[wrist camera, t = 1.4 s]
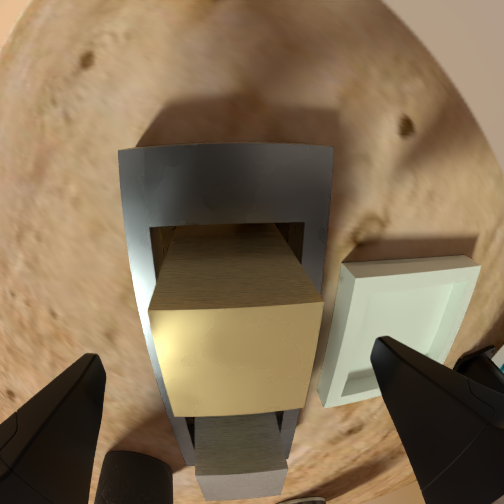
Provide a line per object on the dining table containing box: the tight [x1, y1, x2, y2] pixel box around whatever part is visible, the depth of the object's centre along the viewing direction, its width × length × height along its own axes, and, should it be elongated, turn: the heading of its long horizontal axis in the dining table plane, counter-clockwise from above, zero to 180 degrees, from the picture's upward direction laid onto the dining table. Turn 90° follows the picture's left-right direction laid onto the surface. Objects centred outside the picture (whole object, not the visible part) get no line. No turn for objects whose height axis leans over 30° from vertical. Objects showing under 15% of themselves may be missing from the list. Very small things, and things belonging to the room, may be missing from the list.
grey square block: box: [195, 412, 288, 501], centre depth 15 cm, size 4×4×7 cm
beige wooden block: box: [147, 223, 324, 417], centre depth 11 cm, size 4×4×7 cm
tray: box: [317, 255, 481, 408], centre depth 17 cm, size 10×10×2 cm
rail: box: [118, 142, 334, 466], centre depth 15 cm, size 8×22×2 cm, turn 179°
